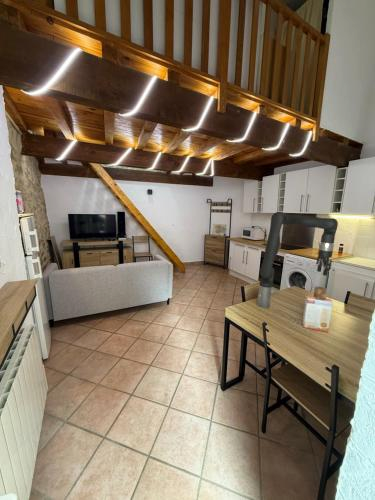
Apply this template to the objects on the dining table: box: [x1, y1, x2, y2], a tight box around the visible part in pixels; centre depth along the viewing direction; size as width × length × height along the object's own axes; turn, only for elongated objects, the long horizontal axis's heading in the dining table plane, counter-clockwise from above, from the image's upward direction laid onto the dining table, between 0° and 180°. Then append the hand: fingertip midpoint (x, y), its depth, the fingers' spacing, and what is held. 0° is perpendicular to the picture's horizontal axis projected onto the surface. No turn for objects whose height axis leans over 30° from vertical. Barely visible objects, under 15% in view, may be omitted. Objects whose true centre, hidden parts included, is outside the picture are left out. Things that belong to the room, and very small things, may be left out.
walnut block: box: [313, 286, 328, 300], centre depth 129 cm, size 5×5×7 cm
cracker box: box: [302, 295, 334, 333], centre depth 131 cm, size 14×6×21 cm, turn 68°
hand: (321, 273), depth 133 cm, fingers open, 8 cm apart
